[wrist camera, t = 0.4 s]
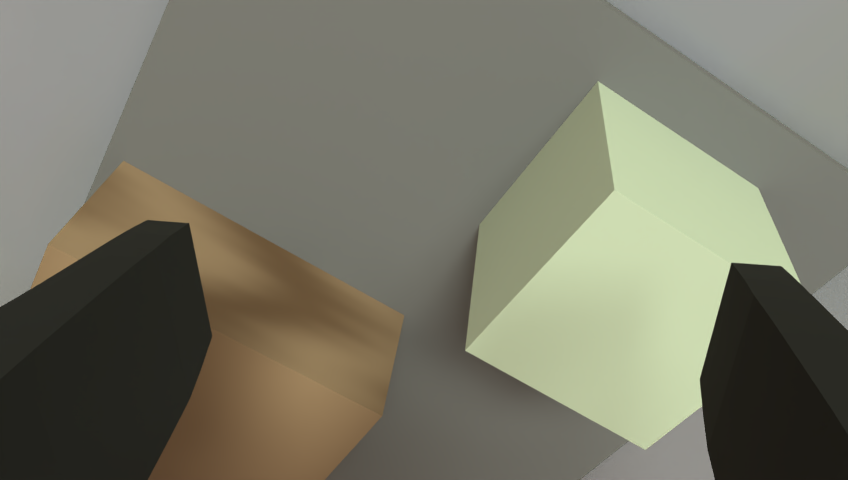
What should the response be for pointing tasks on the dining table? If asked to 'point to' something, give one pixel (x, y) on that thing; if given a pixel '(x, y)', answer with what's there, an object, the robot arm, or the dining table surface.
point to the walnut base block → (254, 342)
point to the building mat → (435, 178)
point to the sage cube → (614, 267)
